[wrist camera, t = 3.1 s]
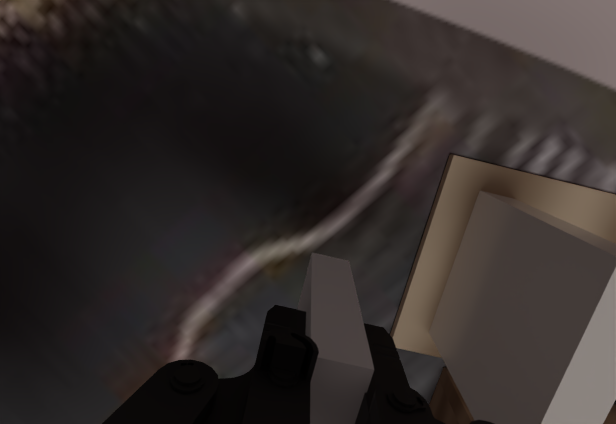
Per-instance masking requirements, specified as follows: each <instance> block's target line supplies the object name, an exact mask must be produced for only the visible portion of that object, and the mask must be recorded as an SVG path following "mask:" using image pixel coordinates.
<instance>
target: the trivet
mask: <svg viewBox="0 0 616 424" xmlns="http://www.w3.org/2000/svg"><path fill="white" fill-rule="evenodd" d="M479 191H484V192H488V193H492V194H497V195H501V196H505V197H509V198H513V199H516V200H518V201H521V202H523V203H525V204H527V205H530V206H532V207H534V208H536V209H539V210H541V211H543V212H545V213H548V214H550V215H552V216H554V217H557V218H559V219H561V220H563V221H566V222H568V223H570V224H572V225H575V226H577V227H579V228H582V229H584V230H586V231H588V232H591V233H593V234H595V235H597V236H600V237H602V238H604V239H606V240H609V241H611V242H613V243H615V244H616V194H612V193H608V192H604V191H600V190H595V189H591V188H587V187H583V186H579V185H575V184H571V183H567V182H563V181H559V180H555V179H551V178H547V177H542V176H538V175H534V174H530V173H526V172H522V171H518V170H514V169H510V168H506V167H502V166H498V165H493V164H489V163H485V162H481V161H477V160H473V159H469V158H465V157H461V156H457V155H453V154H450V155H449V158H448V161H447V164H446V167H445V170H444V173H443V176H442V180H441V183H440V186H439V189H438V192H437V195H436V198H435V201H434V204H433V207H432V210H431V213H430V216H429V219H428V222H427V225H426V228H425V231H424V234H423V237H422V240H421V243H420V246H419V249H418V252H417V255H416V258H415V261H414V264H413V267H412V270H411V273H410V276H409V279H408V282H407V285H406V288H405V291H404V294H403V297H402V300H401V303H400V306H399V309H398V312H397V315H396V318H395V321H394V324H393V327H392V330H391V333H390V336H391V337H392V338H393V340H394V343H395V346H396V348H399V349H404V350H408V351H413V352H417V353H422V354H427V355H431V356H436V357H440V358H442V357H441V355H440V353H439V351H438V349H437V347H436V345H435V343H434V341H433V339H432V338H431V336H430V334H429V330H430V328H431V325H432V322H433V319H434V316H435V314H436V311H437V308H438V305H439V303H440V300H441V297H442V294H443V291H444V289H445V286H446V283H447V280H448V278H449V275H450V272H451V269H452V266H453V264H454V261H455V258H456V255H457V252H458V250H459V247H460V244H461V241H462V239H463V236H464V233H465V230H466V227H467V225H468V222H469V219H470V216H471V214H472V211H473V208H474V205H475V202H476V200H477V197H478V194H479Z"/></svg>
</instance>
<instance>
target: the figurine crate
mask: <svg viewBox="0 0 616 424" xmlns="http://www.w3.org/2000/svg"><path fill="white" fill-rule="evenodd" d="M429 407H430V408H431V411H432V414H433V416H434V418H435V419H437V420H439V421H441V422H443V423H445V424H470V422H471V421H475V420H474V419H473V417H472V415H471V413H470V411H469V409H468V407H467V405H466V403H465V401H464V399H463V397H462V395H461V393H460V392H459V390H458V388H457V386H456V384H455V382H454V380H453V378H452V376H451V374H450V372H449V370H448V368H446V367H443V370H442V373H441V375H440V378H439V381H438V383H437V386H436V388H435V391H434V394H433V396H432V399H431V402H430V404H429ZM603 424H616V404H613V406H612V408H611V409H610V411H609V413H608V415H607V417H606V419H605V421H604V423H603Z"/></svg>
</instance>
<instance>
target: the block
mask: <svg viewBox="0 0 616 424" xmlns="http://www.w3.org/2000/svg"><path fill="white" fill-rule="evenodd" d="M429 334H430V336H431V338H432V339H433V341H434V343H435V345H436V347H437V349H438V351H439V353H440V355H441V357H442V359H443V361H444V363H445V365H446V366H447V368H448V370H449V372H450V374H451V376H452V378H453V380H454V382H455V384H456V386H457V388H458V390H459V392H460V393H461V395H462V397H463V399H464V401H465V403H466V405H467V407H468V409H469V411H470V413H471V415H472V417H473V419H474V420H484V421H489V422H492V423H494V424H603V423H604V421H605V419H606V417H607V415H608V413H609V411H610V409H611V408H612V406H613V404H614V402H615V400H616V244H615V243H613V242H611V241H609V240H606V239H604V238H602V237H600V236H597V235H595V234H593V233H591V232H588V231H586V230H584V229H582V228H579V227H577V226H575V225H572V224H570V223H568V222H566V221H563V220H561V219H559V218H557V217H554V216H552V215H550V214H548V213H545V212H543V211H541V210H539V209H536V208H534V207H532V206H530V205H527V204H525V203H523V202H521V201H518V200H516V199H513V198H509V197H505V196H501V195H497V194H492V193H488V192H484V191H479V194H478V197H477V200H476V202H475V205H474V208H473V211H472V214H471V216H470V219H469V222H468V225H467V227H466V230H465V233H464V236H463V239H462V241H461V244H460V247H459V250H458V252H457V255H456V258H455V261H454V264H453V266H452V269H451V272H450V275H449V278H448V280H447V283H446V286H445V289H444V291H443V294H442V297H441V300H440V303H439V305H438V308H437V311H436V314H435V316H434V319H433V322H432V325H431V328H430V330H429Z"/></svg>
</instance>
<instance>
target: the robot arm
mask: <svg viewBox="0 0 616 424" xmlns="http://www.w3.org/2000/svg"><path fill="white" fill-rule="evenodd" d="M102 424H445V423H443V422H441V421H439V420H437V419H435V418H434V416H433V414H432V411H431V408H430V407H429V405H428V403H427V402H426V400H425V399H424V398H423V397H422V396H421V395H420V394H419V393H418V392H417V391H415V390H413V389H412V388H410V387H409V384H408V381H407V378H406V375H405V372H404V369H403V366H402V363H401V361H400V360H399V355H398V352H397V351H396V346H395V343H394V340H393V338H392V337H391V336H390V335H389V333H388V332H387V331H386V330H385V329H384V328H383V327H378V326H374V325H369V324H365V323H363V319H362V315H361V310H360V306H359V302H358V297H357V293H356V289H355V284H354V280H353V276H352V272H351V267H350V263H349V261H347V260H343V259H338V258H334V257H330V256H325V255H321V254H316V253H312V254H311V258H310V262H309V266H308V269H307V273H306V277H305V281H304V285H303V289H302V293H301V297H300V301H299V305H298V308H297V310H296V309H292V308H287V307H283V306H278V305H275V306H274V307H273V308H271V309H270V310H269V311H268V312H267V315H266V320H265V324H264V328H263V333H262V337H261V341H260V345H259V350H258V354H257V358H256V362H255V365H254V367H253V368H252V369H251V370H250V371H249V372H247V373H246V374H244V375H241V376H238V377H234V378H225V379H218V375H217V374H216V372H215V371H214V370H213V368H212V367H210V366H208V365H206V364H205V363H203V362H199V361H195V360H178V361H174V362H171V363H168V364H166V365H165V366H163V367H162V368H160V369H159V370H158V371H157V372H156V373H155V374H154V375H153V376H152V377H151V378H149V379H148V380H147V381H146V382H145V383H144V384H143V385H142V386H141V387H140V388H139V389H138V390H137V391H136V392H135V393H134V394H133V395H132V396H131V397H130V398H129V399H127V400H126V401H125V402H124V403H123V404H122V405H121V406H120V407H119V408H118V409H117V410H116V411H115V412H114V413H113V414H112V415H111V416H110V417H109V418H108V419H107V420H105V421H104V422H103V423H102ZM470 424H494V423H492V422H489V421H484V420H475V421H471V422H470Z"/></svg>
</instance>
